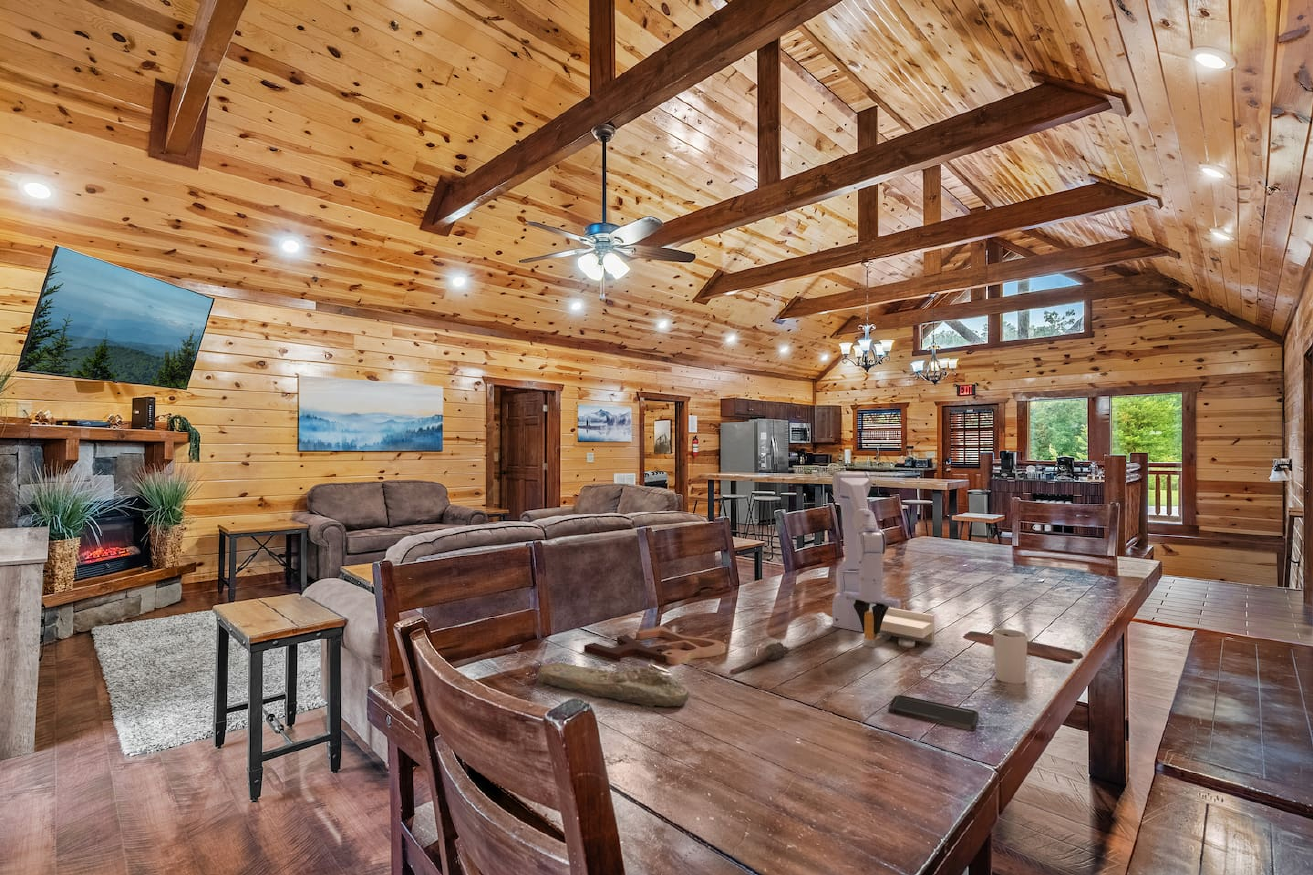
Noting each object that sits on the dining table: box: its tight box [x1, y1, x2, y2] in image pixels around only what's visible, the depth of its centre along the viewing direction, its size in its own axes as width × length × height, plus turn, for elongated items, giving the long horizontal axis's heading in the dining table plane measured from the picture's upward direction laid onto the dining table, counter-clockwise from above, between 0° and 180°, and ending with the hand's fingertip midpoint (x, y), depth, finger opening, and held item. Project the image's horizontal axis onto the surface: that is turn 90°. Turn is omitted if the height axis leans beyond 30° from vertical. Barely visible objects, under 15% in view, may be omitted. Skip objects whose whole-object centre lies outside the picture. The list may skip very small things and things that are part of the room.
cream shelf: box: [880, 607, 935, 645], centre depth 163 cm, size 14×9×7 cm, turn 49°
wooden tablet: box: [962, 630, 1084, 664], centre depth 158 cm, size 26×2×10 cm
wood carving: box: [583, 625, 726, 666], centre depth 153 cm, size 28×2×24 cm
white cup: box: [992, 628, 1028, 685], centre depth 136 cm, size 7×7×10 cm
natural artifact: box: [729, 641, 789, 675], centre depth 146 cm, size 4×23×4 cm
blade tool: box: [862, 610, 892, 649], centre depth 161 cm, size 3×11×8 cm, turn 139°
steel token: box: [897, 637, 916, 649], centre depth 159 cm, size 4×4×2 cm
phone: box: [888, 694, 980, 731], centre depth 118 cm, size 8×1×15 cm
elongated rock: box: [537, 662, 690, 708], centre depth 128 cm, size 35×5×10 cm
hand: (871, 631), depth 158 cm, fingers closed on blade tool, 2 cm apart
